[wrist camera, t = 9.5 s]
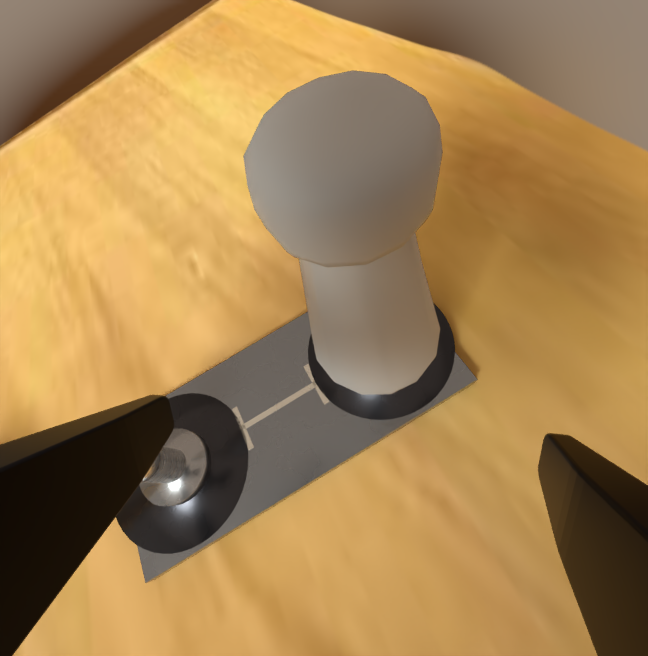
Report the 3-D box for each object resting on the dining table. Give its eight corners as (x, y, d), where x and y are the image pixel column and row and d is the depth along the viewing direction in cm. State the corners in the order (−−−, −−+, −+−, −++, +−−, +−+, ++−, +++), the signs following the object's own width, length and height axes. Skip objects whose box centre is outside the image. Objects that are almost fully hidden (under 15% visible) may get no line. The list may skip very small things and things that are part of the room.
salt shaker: (315, 316, 20) (192, 78, 8) (415, 289, 19) (429, -6, 8) (335, 418, 17) (197, 276, 6) (451, 391, 17) (553, 173, 5)
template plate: (139, 589, 17) (129, 592, 16) (106, 436, 20) (98, 435, 20) (488, 374, 17) (491, 370, 17) (397, 264, 21) (396, 258, 20)
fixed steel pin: (156, 520, 17) (69, 530, 13) (139, 452, 19) (56, 440, 14) (220, 481, 17) (157, 478, 13) (198, 417, 19) (134, 395, 15)
